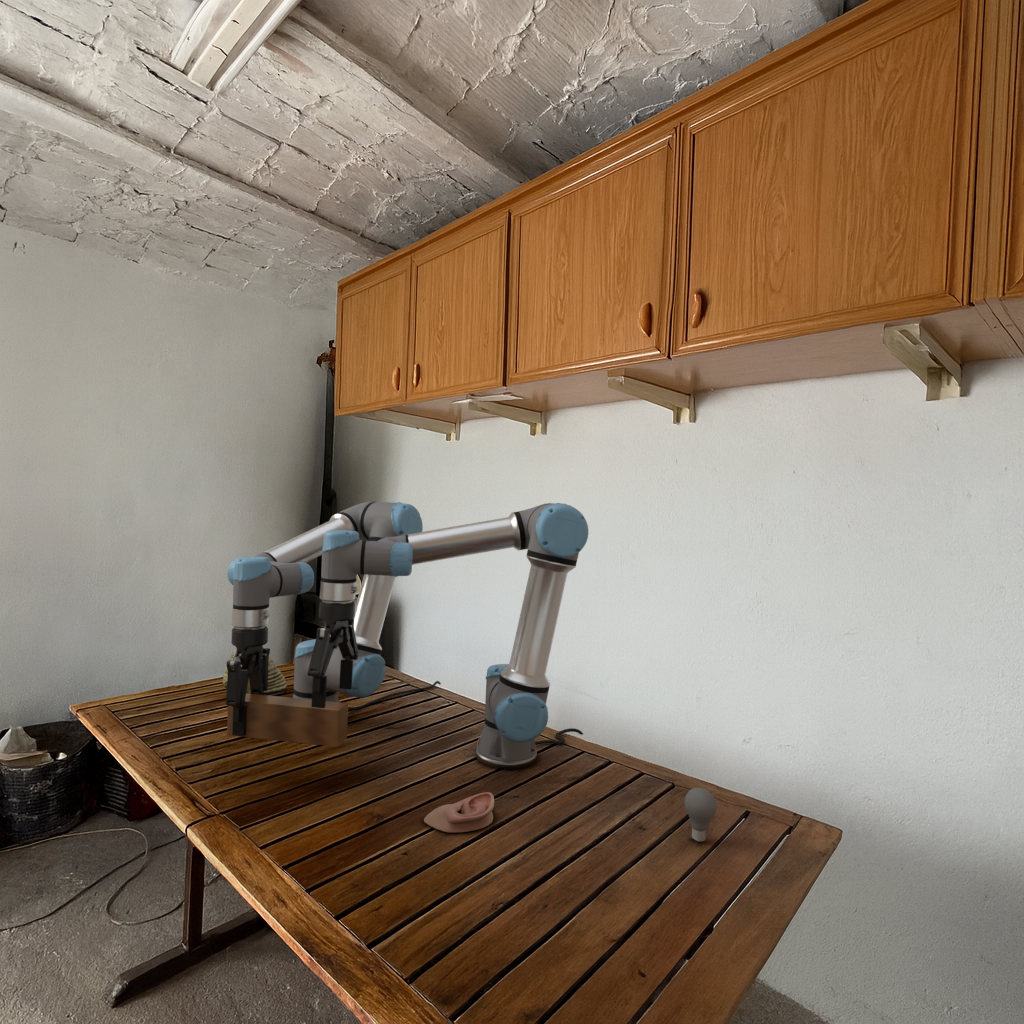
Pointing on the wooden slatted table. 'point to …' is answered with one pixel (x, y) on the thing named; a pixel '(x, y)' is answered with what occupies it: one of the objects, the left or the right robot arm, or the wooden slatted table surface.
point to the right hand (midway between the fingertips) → (332, 697)
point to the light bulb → (700, 811)
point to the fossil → (274, 678)
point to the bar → (293, 720)
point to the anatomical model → (463, 814)
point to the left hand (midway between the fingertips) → (246, 729)
